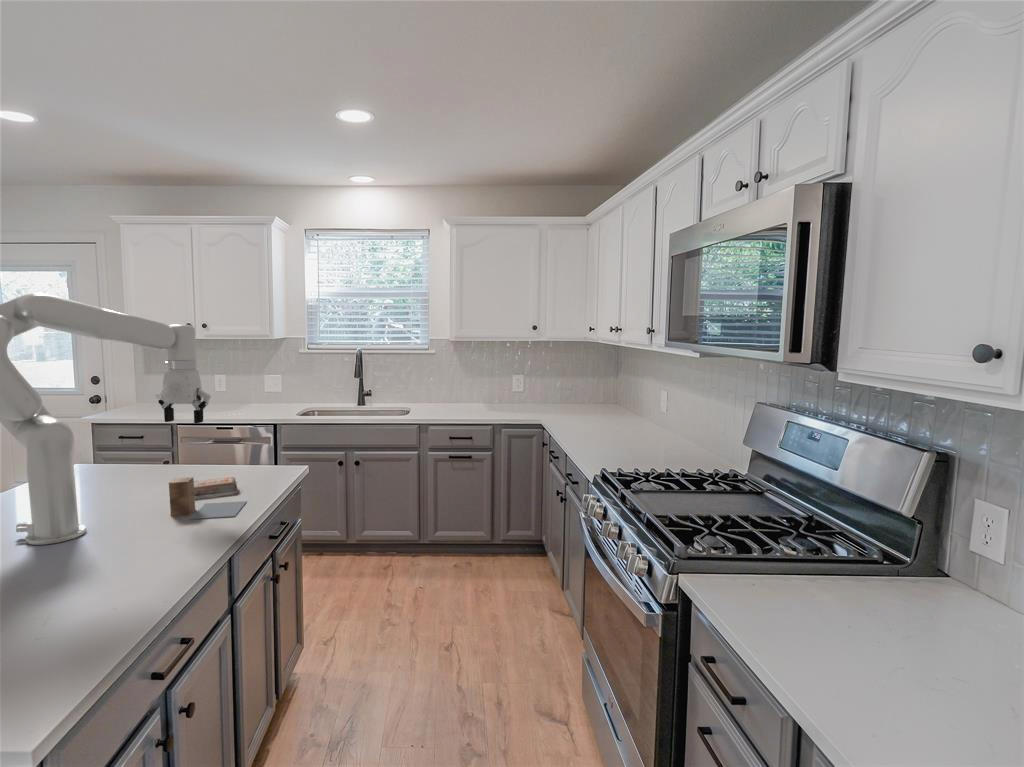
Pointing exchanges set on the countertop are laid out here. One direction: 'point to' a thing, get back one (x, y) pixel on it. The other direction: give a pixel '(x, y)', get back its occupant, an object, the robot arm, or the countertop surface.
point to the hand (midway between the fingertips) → (184, 422)
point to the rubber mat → (218, 510)
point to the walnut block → (182, 496)
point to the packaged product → (215, 487)
